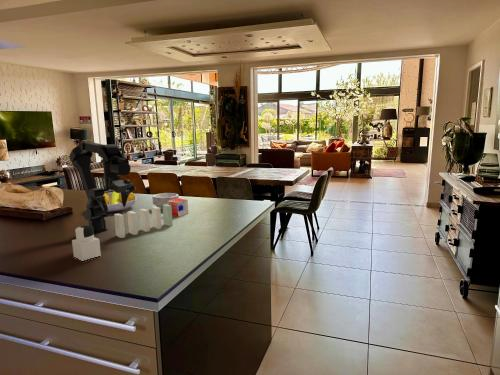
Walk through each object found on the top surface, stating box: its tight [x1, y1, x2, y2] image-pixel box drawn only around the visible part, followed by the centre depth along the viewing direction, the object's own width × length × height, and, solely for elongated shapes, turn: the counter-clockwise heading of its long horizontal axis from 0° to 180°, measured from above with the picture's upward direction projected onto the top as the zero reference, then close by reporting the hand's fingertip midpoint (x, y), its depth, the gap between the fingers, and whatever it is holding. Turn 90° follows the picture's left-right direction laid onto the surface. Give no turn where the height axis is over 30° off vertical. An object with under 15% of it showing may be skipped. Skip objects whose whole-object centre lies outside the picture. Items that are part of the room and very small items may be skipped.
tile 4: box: [150, 205, 163, 230], centre depth 164 cm, size 2×5×10 cm, turn 44°
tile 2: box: [126, 210, 139, 236], centre depth 156 cm, size 2×5×10 cm, turn 44°
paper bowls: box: [152, 192, 180, 211], centre depth 203 cm, size 15×15×8 cm
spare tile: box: [162, 204, 173, 227], centre depth 168 cm, size 2×5×10 cm, turn 43°
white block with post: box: [71, 224, 102, 262], centre depth 128 cm, size 7×7×12 cm
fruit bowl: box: [103, 191, 137, 213], centre depth 203 cm, size 28×27×11 cm
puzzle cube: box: [167, 198, 189, 218], centre depth 188 cm, size 8×8×8 cm
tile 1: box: [113, 213, 126, 239], centre depth 152 cm, size 2×5×10 cm, turn 44°
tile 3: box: [139, 208, 151, 233], centre depth 160 cm, size 2×5×10 cm, turn 44°
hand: (114, 208), depth 149 cm, fingers open, 9 cm apart
